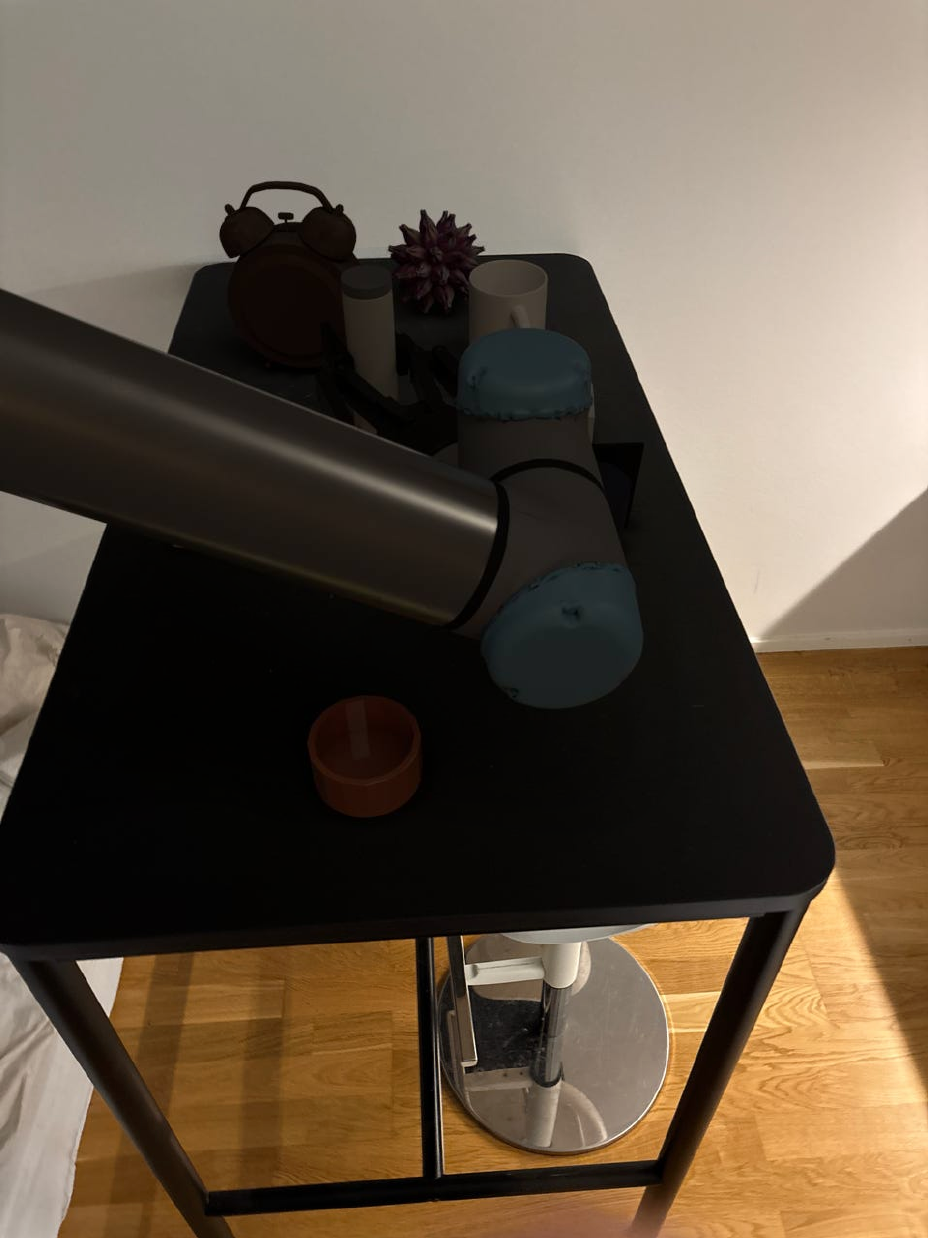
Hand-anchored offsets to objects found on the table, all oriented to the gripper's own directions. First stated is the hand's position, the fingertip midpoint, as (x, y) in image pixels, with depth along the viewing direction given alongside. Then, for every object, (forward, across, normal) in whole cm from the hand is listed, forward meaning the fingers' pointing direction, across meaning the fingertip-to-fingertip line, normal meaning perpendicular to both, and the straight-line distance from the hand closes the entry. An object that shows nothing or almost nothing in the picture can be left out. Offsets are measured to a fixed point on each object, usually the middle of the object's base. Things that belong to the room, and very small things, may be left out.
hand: (351, 331), depth 86 cm
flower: (+27, +19, -15) cm, 37 cm away
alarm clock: (+22, +1, -15) cm, 27 cm away
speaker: (-20, +15, -15) cm, 29 cm away
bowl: (-34, -12, -15) cm, 39 cm away
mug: (+10, +21, -15) cm, 28 cm away
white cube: (-5, +19, -15) cm, 25 cm away
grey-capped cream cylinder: (-5, 0, -10) cm, 12 cm away
